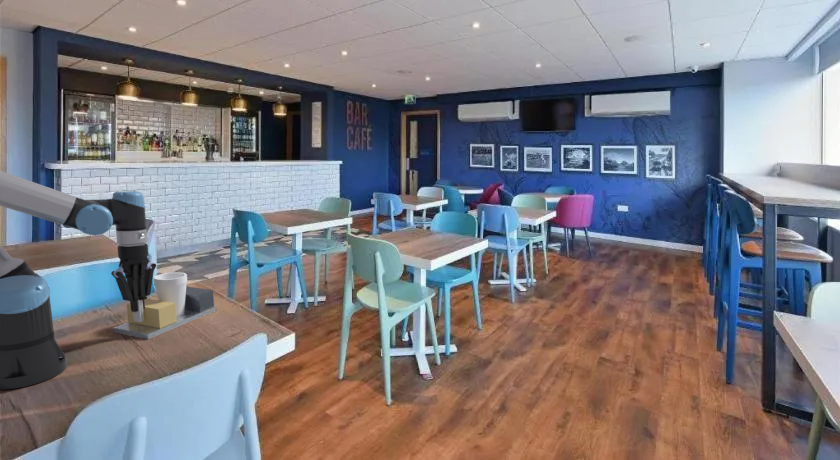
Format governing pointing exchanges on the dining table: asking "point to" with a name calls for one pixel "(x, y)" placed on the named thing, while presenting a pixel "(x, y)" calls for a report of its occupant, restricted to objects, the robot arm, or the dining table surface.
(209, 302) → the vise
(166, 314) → the block
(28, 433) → the dining table surface
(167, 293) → the foam cup
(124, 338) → the dining table surface
